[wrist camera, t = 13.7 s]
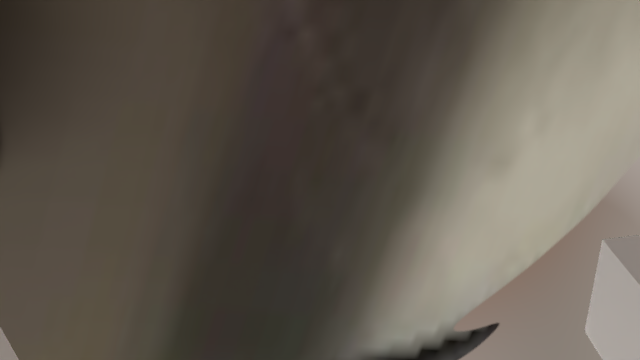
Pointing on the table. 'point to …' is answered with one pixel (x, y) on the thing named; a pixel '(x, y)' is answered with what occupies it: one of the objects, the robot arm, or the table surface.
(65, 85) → the table surface
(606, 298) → the robot arm
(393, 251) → the table surface
